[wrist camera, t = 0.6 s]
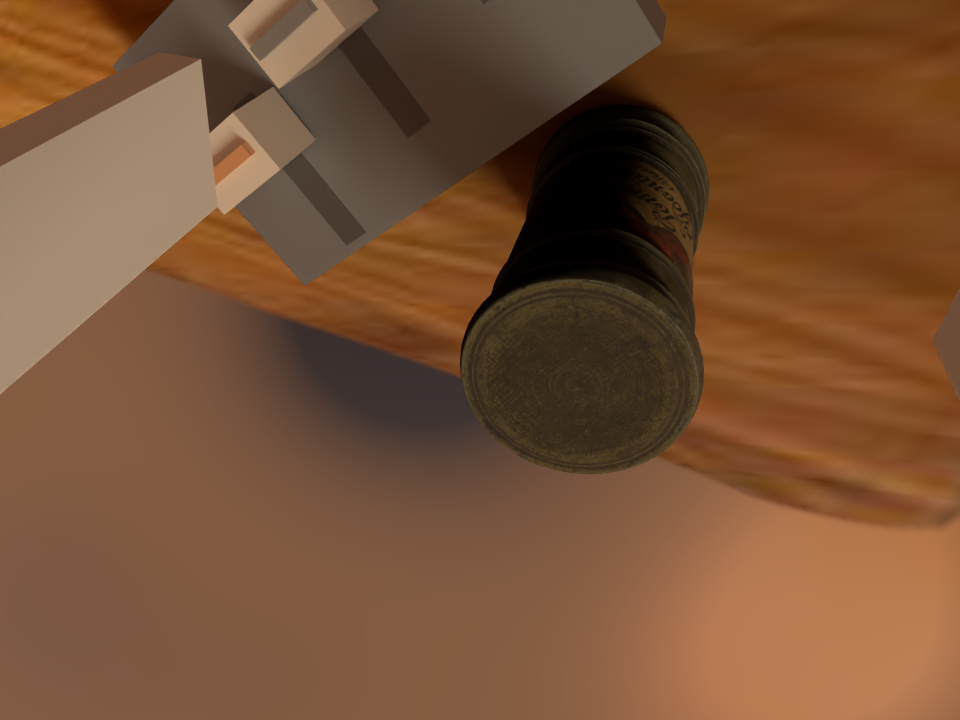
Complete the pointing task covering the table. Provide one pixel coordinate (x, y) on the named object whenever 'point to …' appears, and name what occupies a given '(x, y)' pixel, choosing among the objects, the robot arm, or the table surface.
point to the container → (596, 300)
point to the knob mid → (297, 32)
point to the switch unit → (402, 102)
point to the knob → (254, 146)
